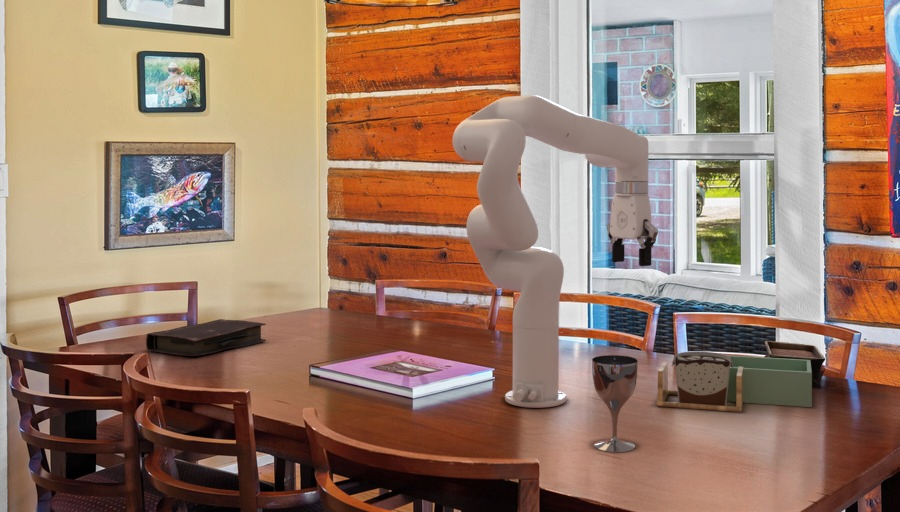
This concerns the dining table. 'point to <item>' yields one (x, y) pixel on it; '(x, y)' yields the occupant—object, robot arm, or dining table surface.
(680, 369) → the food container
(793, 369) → the tub
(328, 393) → the dining table surface
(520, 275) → the robot arm
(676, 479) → the dining table surface
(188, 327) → the diary
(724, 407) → the drying rack
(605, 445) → the wine glass
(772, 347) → the dark brown tapered box
